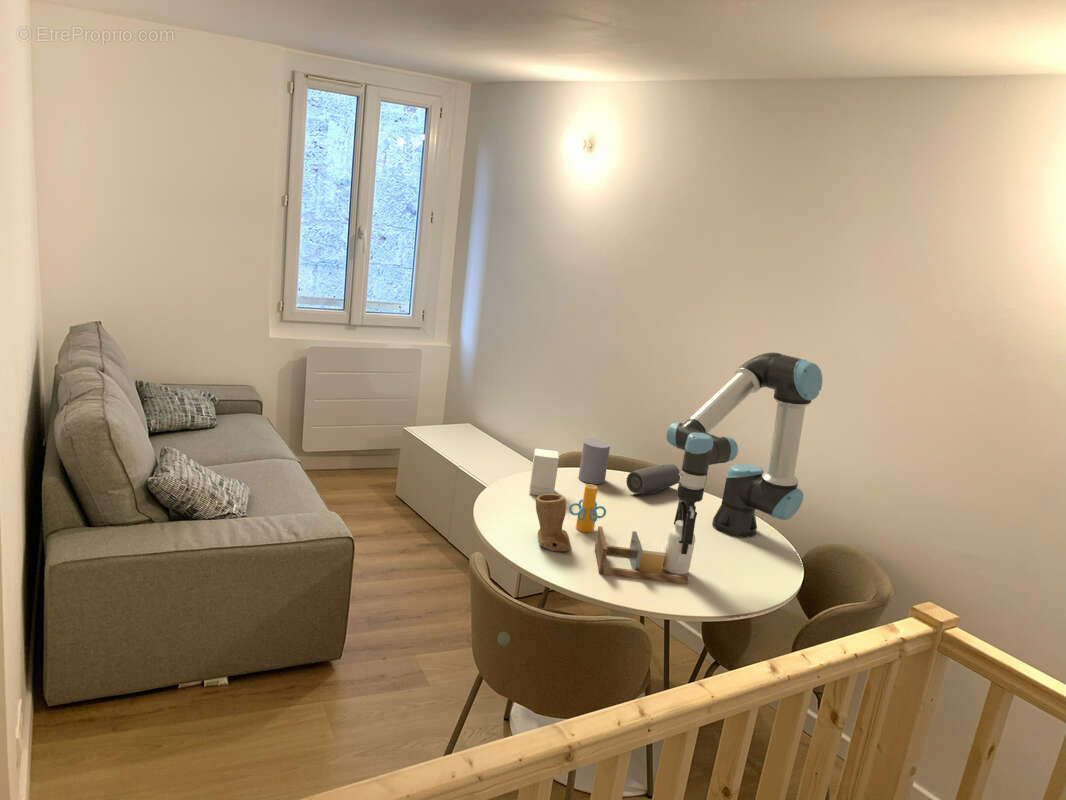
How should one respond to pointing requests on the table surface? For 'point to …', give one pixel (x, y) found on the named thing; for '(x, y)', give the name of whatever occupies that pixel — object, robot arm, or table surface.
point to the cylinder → (587, 510)
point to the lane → (601, 553)
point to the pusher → (635, 551)
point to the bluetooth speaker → (653, 479)
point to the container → (594, 461)
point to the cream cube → (652, 556)
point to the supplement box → (544, 472)
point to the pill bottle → (676, 551)
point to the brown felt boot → (552, 522)
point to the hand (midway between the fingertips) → (678, 556)
